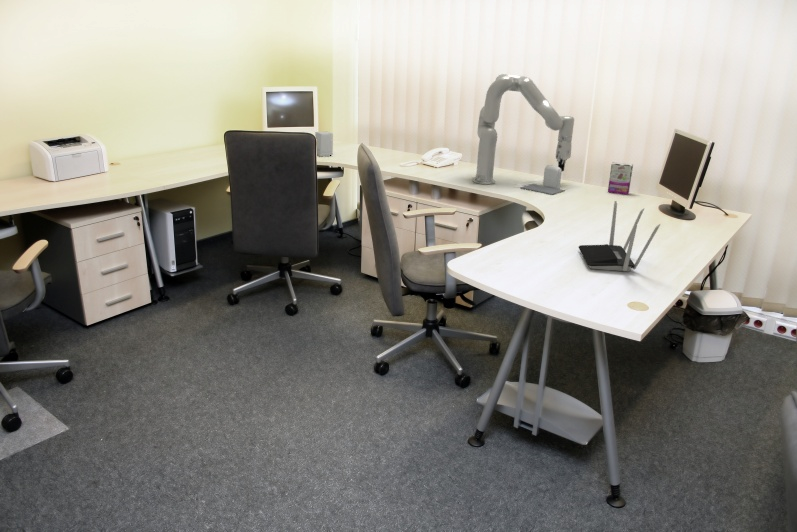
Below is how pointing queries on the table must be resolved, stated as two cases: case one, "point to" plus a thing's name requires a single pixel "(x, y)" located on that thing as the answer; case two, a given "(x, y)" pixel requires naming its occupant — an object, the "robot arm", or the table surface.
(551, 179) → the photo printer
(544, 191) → the mat
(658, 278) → the table surface
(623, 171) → the candy bar box
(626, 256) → the wireless router
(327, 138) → the supplement box
